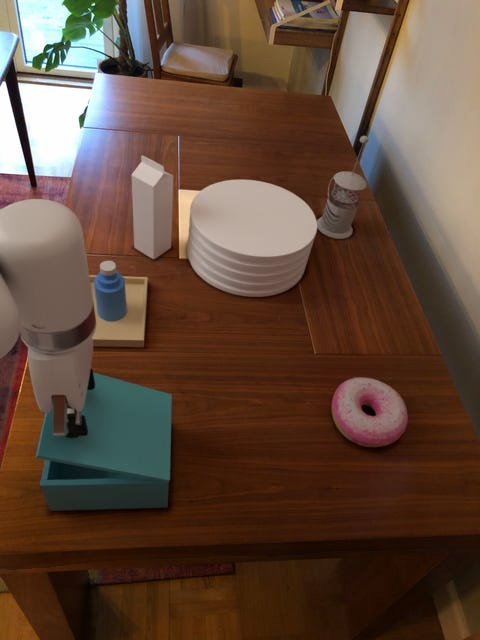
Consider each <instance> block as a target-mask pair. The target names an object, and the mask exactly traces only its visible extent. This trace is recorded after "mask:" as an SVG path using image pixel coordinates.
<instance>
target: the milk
mask: <svg viewBox="0 0 480 640" xmlns="http://www.w3.org/2000/svg"><path fill="white" fill-rule="evenodd" d="M140 157H141V161H140V163H139V164H138V166H137V167H136V168H135V170H134V171H133V172H132V173H131V194H132V195H131V197H132V221H133V222H132V223H133V246H134V249H136V250H137V251H138V252H140V253H142V254H144V255H145V256H146V257H149V258H150V259H152V260H156V259H157V258H159V257H160V256H161V255H163V254H164V253H166V252H167V251H169V250H170V249H171V248H172V234H173V233H172V230H173V202H174V201H173V200H174V198H173V197H174V175H173V174H171V173H169V172H167V171H165V167H164V165H162V164H161V163H158V162H156V161H155V160H153V159H150V158H148V157H147V156H145V155H143V154H142V155H141V156H140Z"/></svg>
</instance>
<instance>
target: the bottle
mask: <svg viewBox="0 0 480 640" xmlns="http://www.w3.org/2000/svg"><path fill="white" fill-rule="evenodd" d="M97 275H98V276H97V277H96V278H95V280H94V288H95V296H96V304H97V311H98V315H99V317H100V318H102V319H103V320H105V321H118V320H120V319H122V318H123V317H124V316H125V315H126V312H127V306H126V291H125V279H124V278H123V275H122V274H120V271H118V270H117V265H116V263H115V262H114V261H113V260H104V261H101V263H100V264H99V272H98V274H97Z"/></svg>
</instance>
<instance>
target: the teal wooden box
mask: <svg viewBox="0 0 480 640" xmlns="http://www.w3.org/2000/svg"><path fill="white" fill-rule="evenodd" d="M40 478H41V479H40V483H39V487H40V489H41V492H42V494H43V496H44V499H45V501H46V503H47V506H48V508H49V510H50V512H57V511H58V512H59V511H89V510H90V511H91V510H92V511H93V510H123V509H124V510H129V509H157V508H158V509H159V508H160V509H161V508H168V504H169V488H170V487H169V486H170V485H169V484H170V481H169V482H162V481H157V480H151V479H146V478H141V477H135V476H130V475H124V474H119V473H114V472H108V471H103V470H97V469H92V468H87V467H81V466H76V465H70V464H65V463H60V462H54V461H49V460H44V463H43V468H42V473H41V477H40Z"/></svg>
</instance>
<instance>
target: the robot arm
mask: <svg viewBox="0 0 480 640" xmlns="http://www.w3.org/2000/svg"><path fill="white" fill-rule="evenodd" d="M86 250H87V249H86V244H85V239H84V233H83V227H82V224H81V222H80V219H79V218H78V217H77V215H76V214H75V212H74V211H73V210H71V209H70V208H69V207H67V206H66V205H64V204H62V203H60V202H57V201H55V200H50V199H46V198H45V199H43V198H29V199H23V200H19V201H15V202H13V203H10V204H9V205H6V206H4V207H2V208H0V360H1V359H2V358H4V357H5V356H6V355H7V354H8V353H9V352H11V350H13V347H14V346H15V345H16V343H17V341H18V339H19V336H20V339H21V341H22V342H23V344H24V345H25V346H26V347H27V362H28V363H27V364H28V369H29V376H30V380H31V386H32V389H33V393H34V397H35V401H36V404H37V407H38V409H39V411H40V412H41V413H49V412H50V411H51V409H52V407H53V404H54V407H53V436H66V437H68V438H77V437H79V436H87V435H88V428H87V424H86V419H85V416H84V415H82V414H81V410H82V409H83V407H84V404H85V399H86V393H87V390H93V389H94V388H95V380H94V375H93V373H94V370H93V368H92V364H93V363H92V362H93V356H94V346H93V337H92V336H93V334H94V332H95V330H96V316H95V309H94V303H93V296H92V290H91V283H90V276H89V275H90V271H89V270H90V269H89V265H88V264H89V263H88V257H87V251H86ZM67 409H74V412H75V413H67Z"/></svg>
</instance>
